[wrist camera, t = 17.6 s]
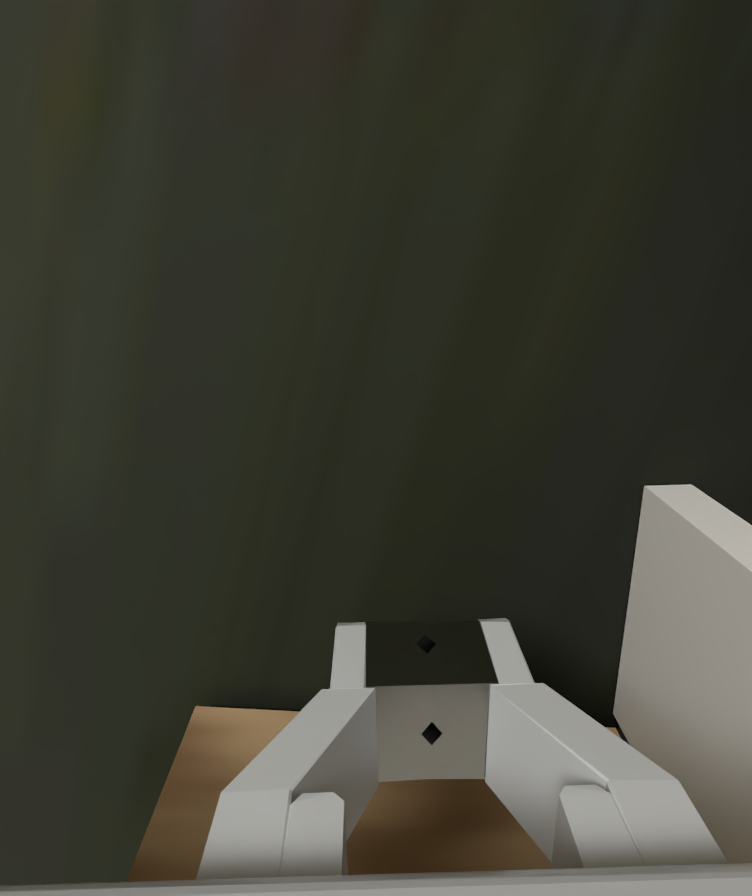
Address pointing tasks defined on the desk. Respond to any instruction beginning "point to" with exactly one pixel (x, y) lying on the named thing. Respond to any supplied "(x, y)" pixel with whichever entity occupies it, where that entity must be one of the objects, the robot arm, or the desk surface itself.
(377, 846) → the door
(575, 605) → the desk surface
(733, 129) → the desk surface
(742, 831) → the doorframe
